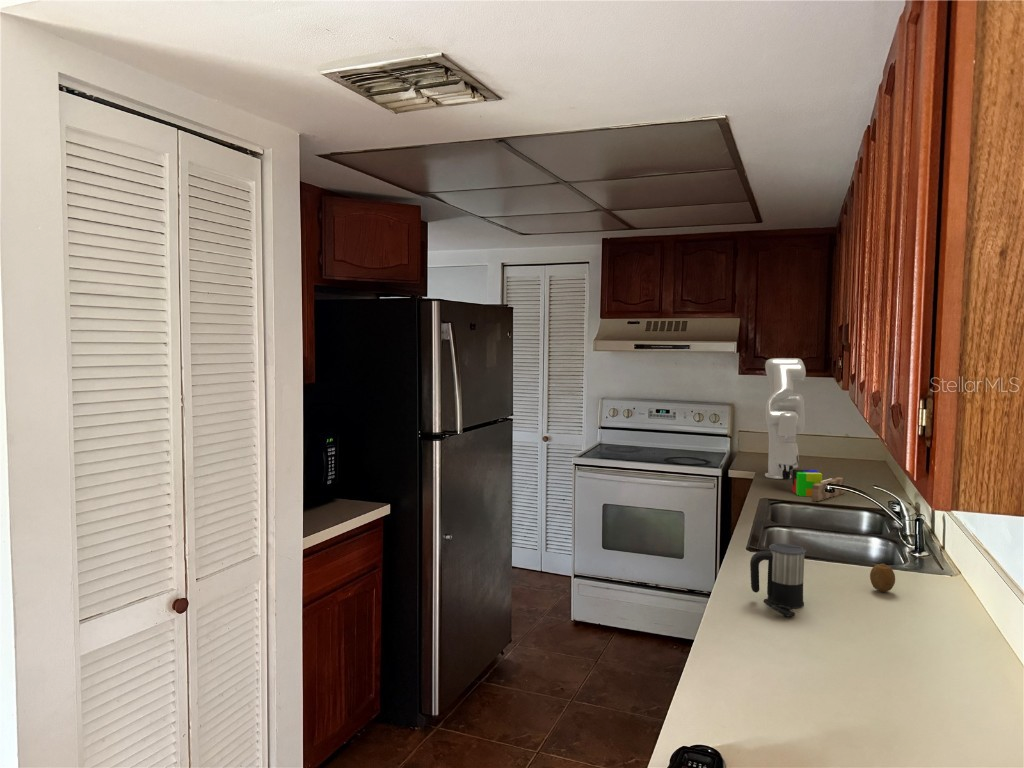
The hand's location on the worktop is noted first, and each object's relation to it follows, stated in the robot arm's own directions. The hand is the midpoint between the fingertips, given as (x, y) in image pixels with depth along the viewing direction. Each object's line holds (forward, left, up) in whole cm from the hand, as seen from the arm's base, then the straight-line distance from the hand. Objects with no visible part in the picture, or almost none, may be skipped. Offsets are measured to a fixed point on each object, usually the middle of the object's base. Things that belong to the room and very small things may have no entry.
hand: (786, 479), depth 328 cm
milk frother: (+137, +69, -6) cm, 153 cm away
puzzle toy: (0, +10, -5) cm, 11 cm away
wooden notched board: (0, +19, -5) cm, 20 cm away
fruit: (+106, +81, -5) cm, 134 cm away
